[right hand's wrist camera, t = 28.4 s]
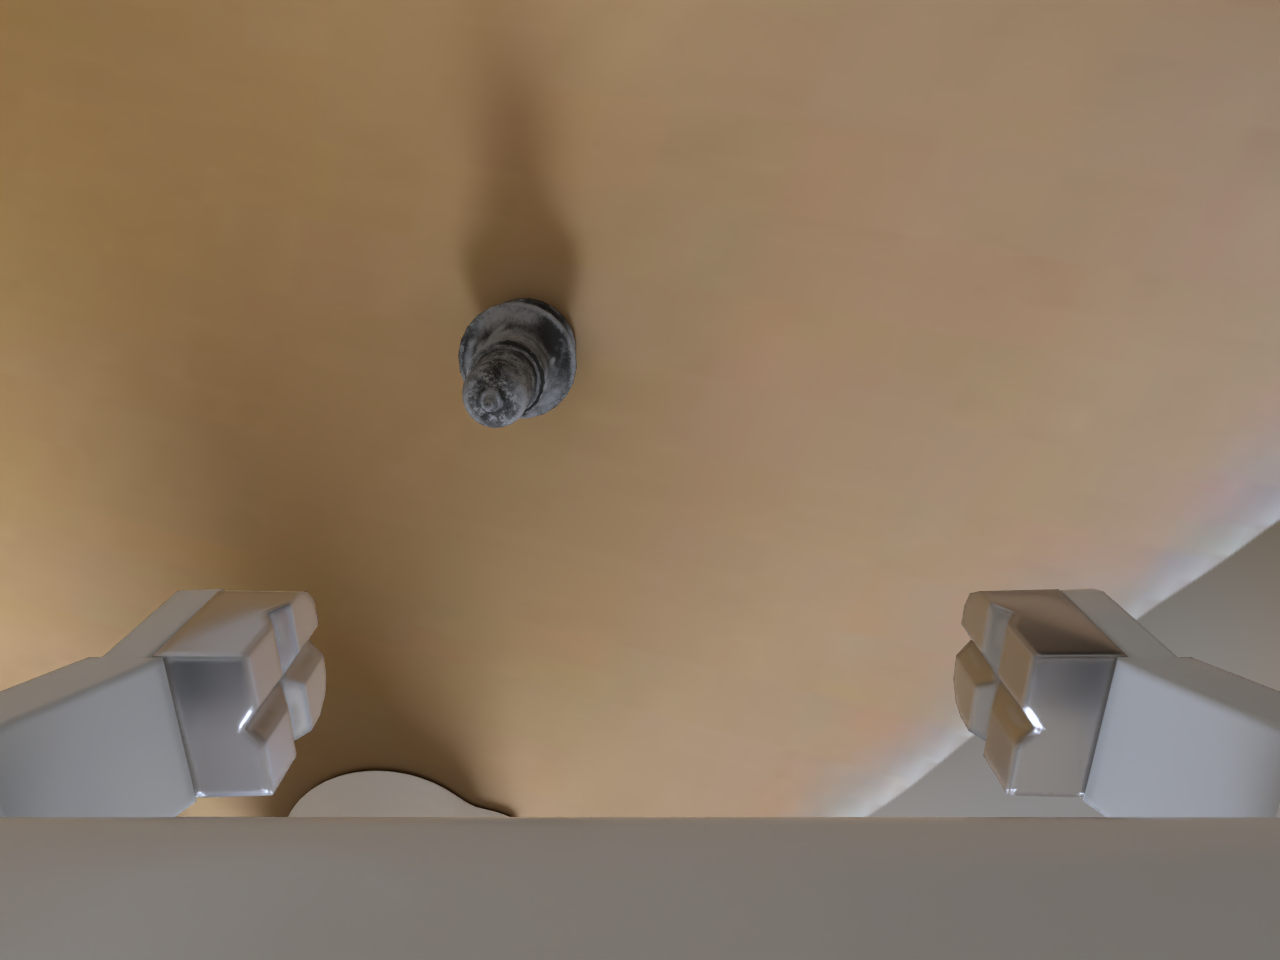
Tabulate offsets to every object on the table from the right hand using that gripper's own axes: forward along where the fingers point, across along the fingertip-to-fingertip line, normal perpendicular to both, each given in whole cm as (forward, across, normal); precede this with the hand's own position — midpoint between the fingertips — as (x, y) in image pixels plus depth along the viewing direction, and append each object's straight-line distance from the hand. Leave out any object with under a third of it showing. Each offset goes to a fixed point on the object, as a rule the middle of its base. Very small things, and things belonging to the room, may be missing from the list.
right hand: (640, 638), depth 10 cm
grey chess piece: (+35, -6, -3) cm, 35 cm away
